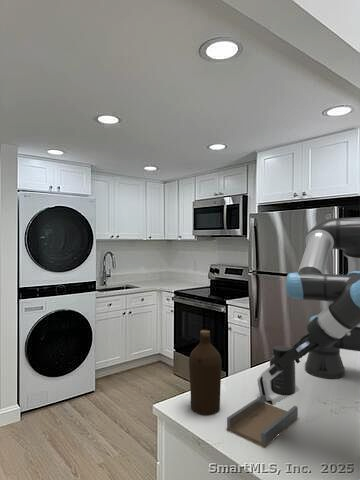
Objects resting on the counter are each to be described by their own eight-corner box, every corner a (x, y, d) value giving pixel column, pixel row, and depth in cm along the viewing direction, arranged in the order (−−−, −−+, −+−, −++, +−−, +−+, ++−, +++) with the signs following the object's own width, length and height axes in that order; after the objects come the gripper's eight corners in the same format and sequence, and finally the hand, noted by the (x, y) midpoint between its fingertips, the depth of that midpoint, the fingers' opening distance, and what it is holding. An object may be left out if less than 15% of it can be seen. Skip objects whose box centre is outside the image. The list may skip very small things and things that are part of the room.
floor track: (262, 405, 110) (262, 394, 110) (297, 418, 102) (297, 406, 102) (227, 430, 96) (227, 417, 96) (264, 447, 87) (264, 434, 87)
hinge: (273, 405, 110) (264, 373, 113) (261, 405, 113) (253, 374, 116) (299, 390, 121) (291, 362, 123) (288, 391, 124) (280, 363, 127)
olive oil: (225, 415, 104) (224, 335, 104) (191, 417, 103) (191, 336, 103) (218, 399, 114) (217, 326, 114) (187, 401, 113) (186, 327, 113)
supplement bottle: (277, 383, 99) (277, 343, 99) (299, 390, 94) (299, 347, 94) (265, 391, 94) (265, 348, 94) (288, 398, 89) (287, 353, 89)
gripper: (325, 349, 77) (262, 398, 87) (351, 331, 91) (294, 375, 102) (302, 322, 80) (244, 373, 91) (330, 309, 95) (277, 354, 106)
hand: (270, 374), depth 97 cm, fingers closed on supplement bottle, 7 cm apart
